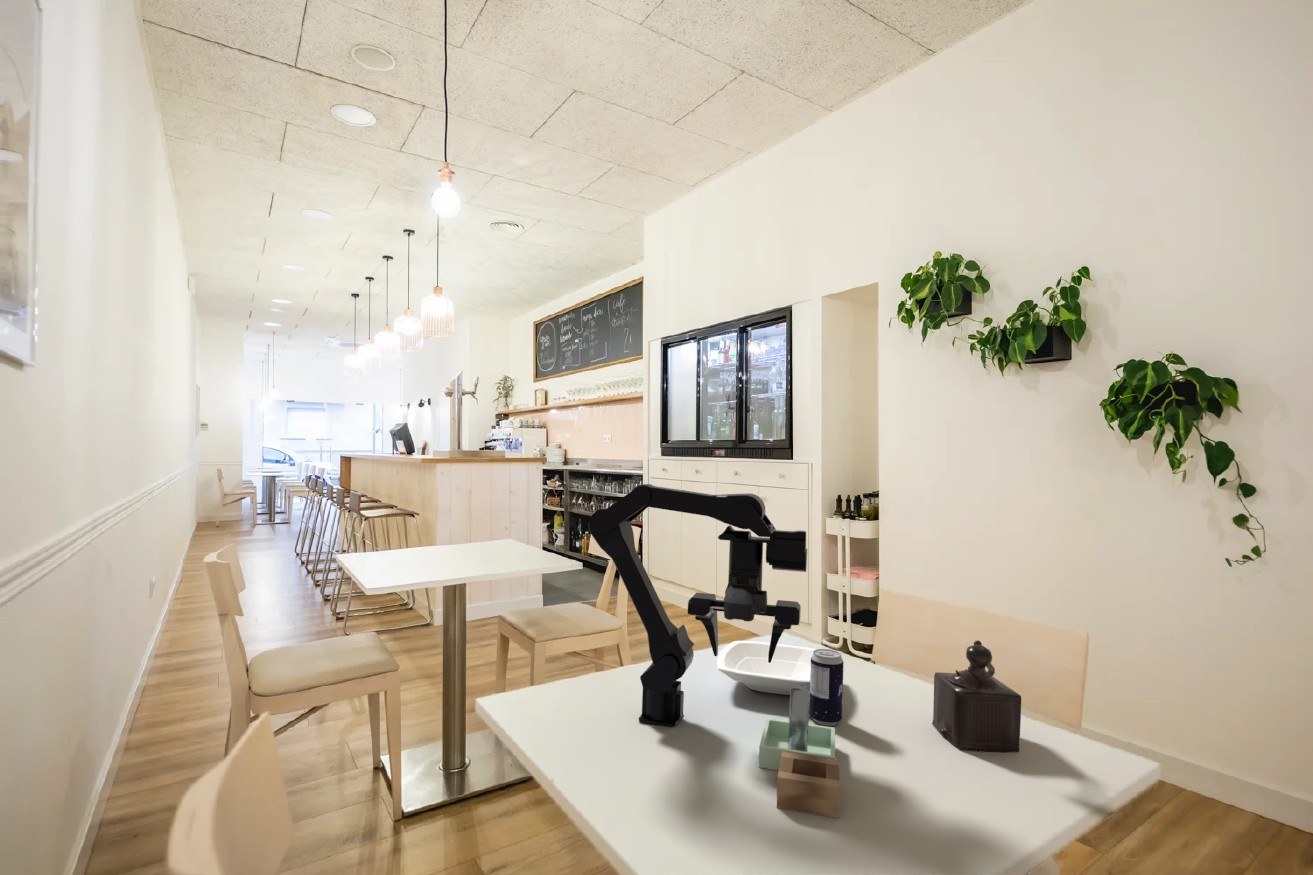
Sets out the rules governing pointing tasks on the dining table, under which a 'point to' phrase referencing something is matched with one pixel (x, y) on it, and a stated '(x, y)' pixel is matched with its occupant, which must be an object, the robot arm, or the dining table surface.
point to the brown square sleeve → (808, 784)
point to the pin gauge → (799, 718)
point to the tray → (777, 741)
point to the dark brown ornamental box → (977, 706)
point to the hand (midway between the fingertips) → (742, 658)
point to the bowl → (766, 666)
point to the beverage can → (826, 687)
